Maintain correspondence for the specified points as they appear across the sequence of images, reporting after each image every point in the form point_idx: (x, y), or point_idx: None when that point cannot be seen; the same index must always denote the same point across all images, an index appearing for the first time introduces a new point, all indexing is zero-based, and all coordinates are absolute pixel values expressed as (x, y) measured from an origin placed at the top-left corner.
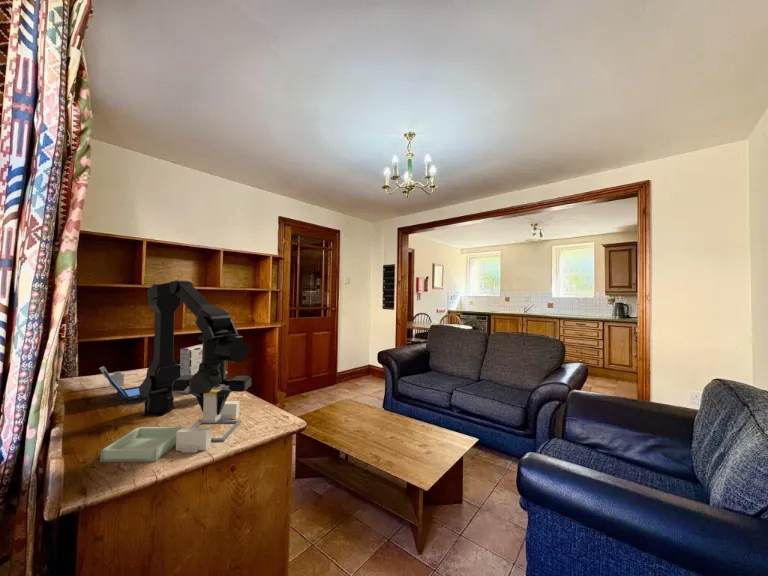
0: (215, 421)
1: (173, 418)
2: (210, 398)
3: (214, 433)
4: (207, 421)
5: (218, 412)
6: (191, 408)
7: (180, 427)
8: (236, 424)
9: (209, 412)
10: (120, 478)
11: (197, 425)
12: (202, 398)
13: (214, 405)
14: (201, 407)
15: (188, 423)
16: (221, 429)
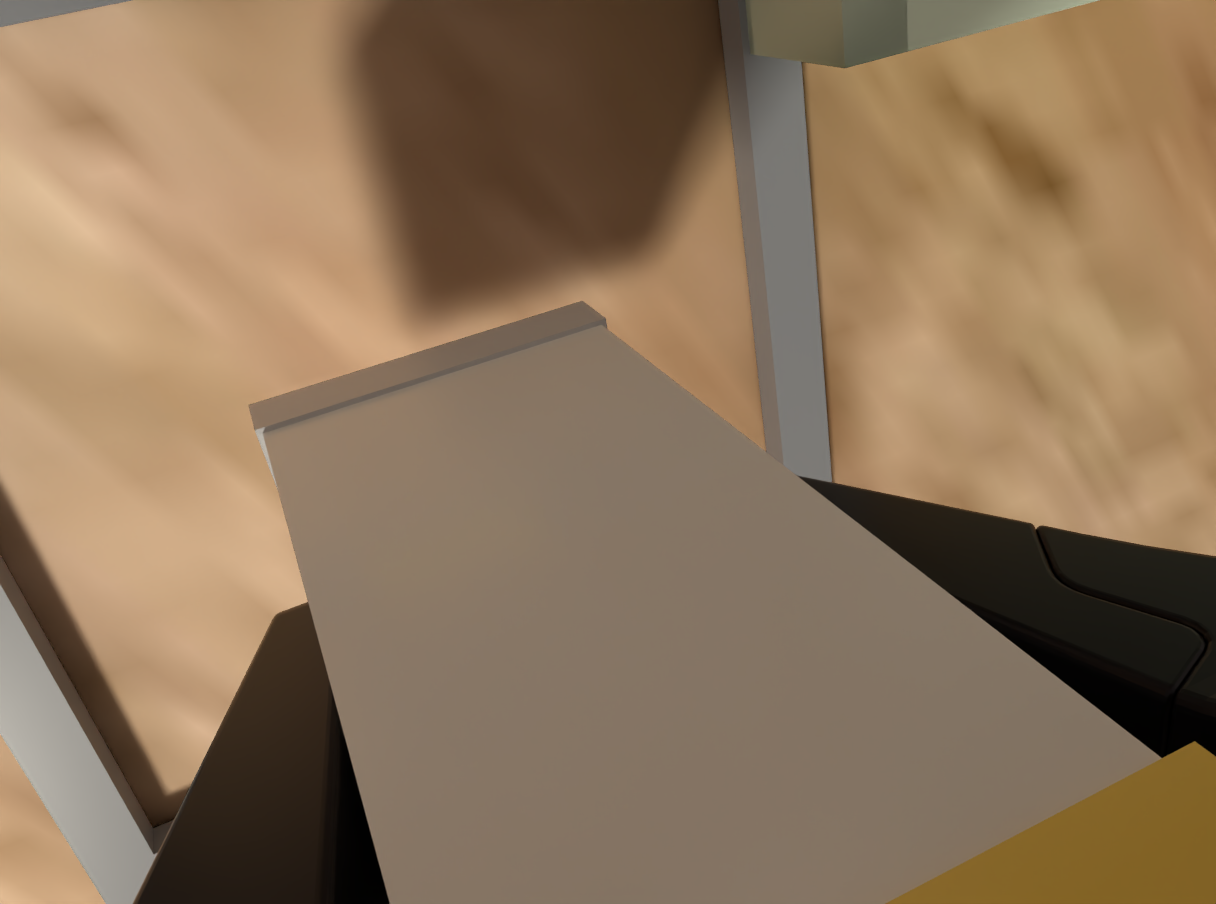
0: (257, 429)
1: (1202, 528)
2: (748, 860)
3: (256, 331)
4: (468, 348)
5: (280, 647)
6: None
7: (938, 16)
8: (46, 762)
9: (507, 475)
10: None
11: (778, 456)
12: (1132, 687)
13: (399, 696)
14: (882, 504)
15: (957, 488)
16: (255, 521)
